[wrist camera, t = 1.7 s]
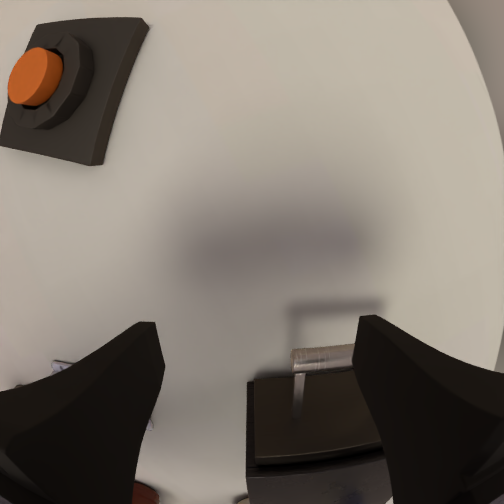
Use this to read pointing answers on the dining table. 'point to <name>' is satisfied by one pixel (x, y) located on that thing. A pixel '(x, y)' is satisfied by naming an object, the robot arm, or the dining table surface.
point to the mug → (144, 494)
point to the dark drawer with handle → (313, 412)
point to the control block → (77, 89)
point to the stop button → (35, 77)
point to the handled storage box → (315, 476)
